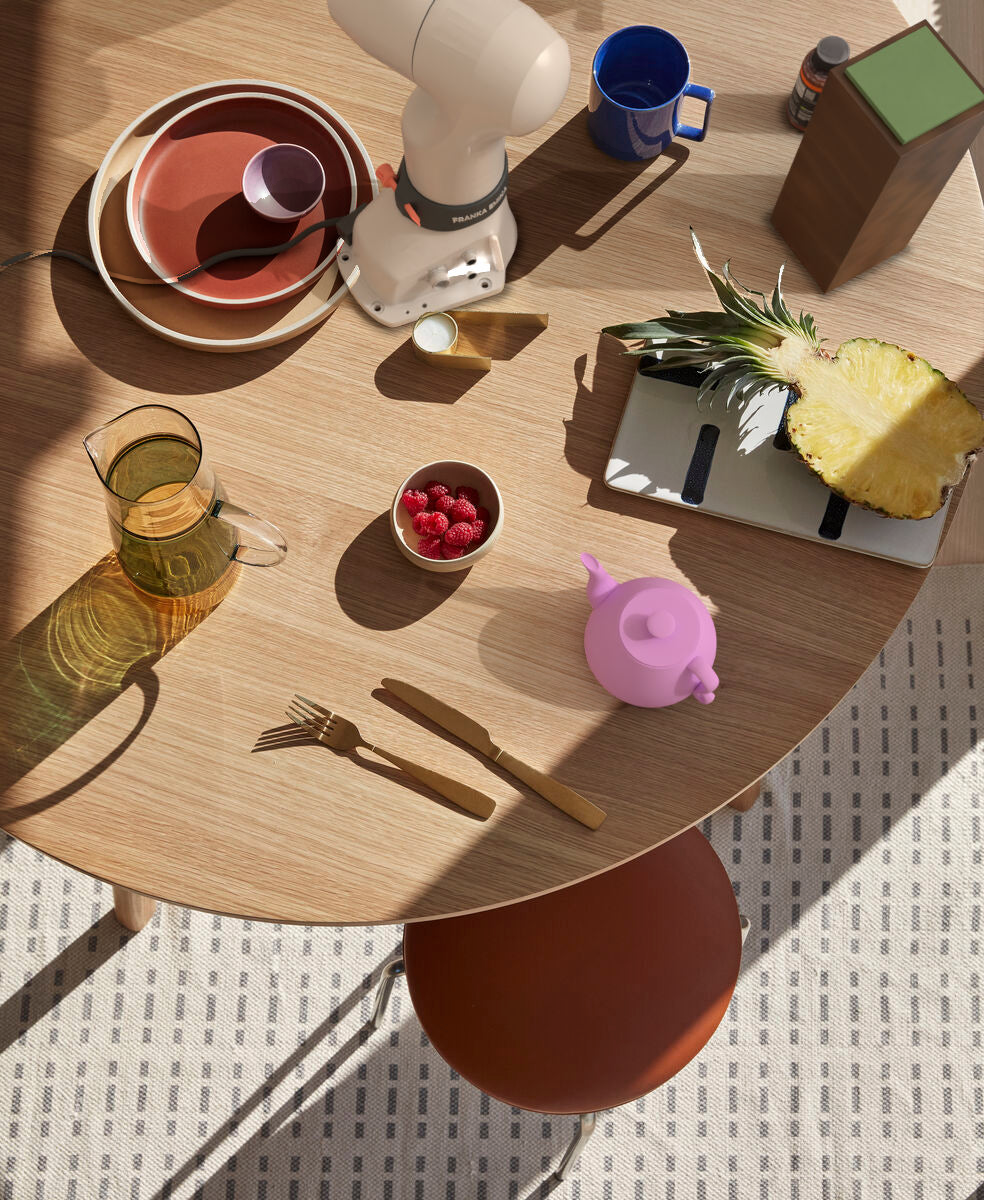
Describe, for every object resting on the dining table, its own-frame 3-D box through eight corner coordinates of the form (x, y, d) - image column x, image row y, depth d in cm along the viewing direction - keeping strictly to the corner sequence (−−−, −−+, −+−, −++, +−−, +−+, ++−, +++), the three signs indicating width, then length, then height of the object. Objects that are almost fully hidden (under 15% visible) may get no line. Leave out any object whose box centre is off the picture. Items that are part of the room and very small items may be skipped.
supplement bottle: (832, 96, 141) (860, 30, 130) (831, 136, 140) (859, 72, 129) (785, 92, 141) (809, 26, 130) (784, 132, 140) (808, 68, 129)
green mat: (902, 145, 109) (904, 141, 109) (843, 72, 112) (845, 68, 111) (983, 100, 111) (986, 96, 110) (923, 29, 113) (925, 25, 112)
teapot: (531, 626, 124) (534, 598, 112) (617, 541, 126) (630, 504, 114) (662, 752, 120) (680, 737, 108) (748, 661, 123) (776, 637, 111)
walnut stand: (824, 294, 134) (900, 157, 109) (768, 219, 137) (829, 69, 112) (904, 249, 136) (997, 103, 110) (847, 176, 138) (925, 18, 113)
